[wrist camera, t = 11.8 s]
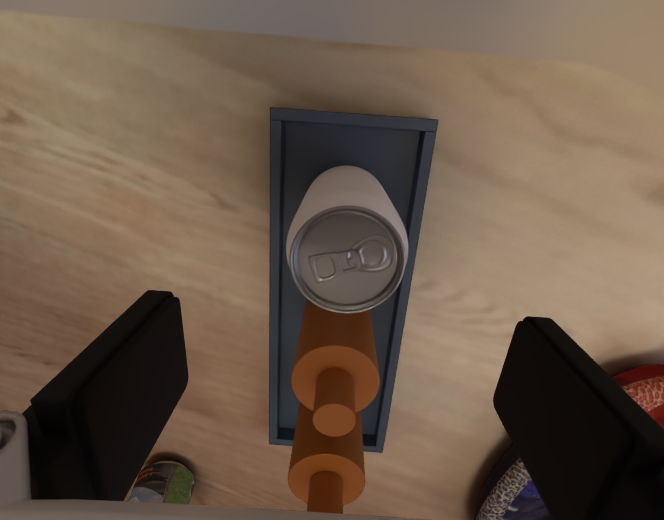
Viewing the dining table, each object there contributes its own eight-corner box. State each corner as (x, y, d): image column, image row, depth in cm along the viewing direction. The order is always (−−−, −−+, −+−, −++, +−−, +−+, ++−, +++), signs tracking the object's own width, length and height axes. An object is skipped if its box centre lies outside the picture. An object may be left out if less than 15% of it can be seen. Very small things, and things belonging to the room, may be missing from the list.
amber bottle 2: (303, 360, 34) (281, 493, 22) (361, 364, 34) (372, 500, 22) (301, 405, 36) (280, 550, 24) (356, 409, 36) (363, 556, 24)
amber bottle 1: (307, 274, 30) (284, 375, 18) (372, 279, 30) (391, 384, 18) (304, 329, 33) (282, 453, 20) (365, 334, 33) (379, 461, 20)
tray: (275, 108, 26) (270, 107, 24) (431, 119, 26) (438, 119, 24) (272, 427, 38) (268, 444, 36) (380, 435, 38) (382, 453, 36)
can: (394, 233, 29) (426, 304, 18) (318, 252, 30) (304, 333, 19) (375, 153, 27) (399, 178, 15) (294, 177, 27) (260, 218, 16)
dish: (425, 507, 42) (435, 555, 37) (624, 311, 32) (673, 344, 27) (527, 551, 44) (549, 601, 40) (743, 382, 34) (807, 424, 29)
